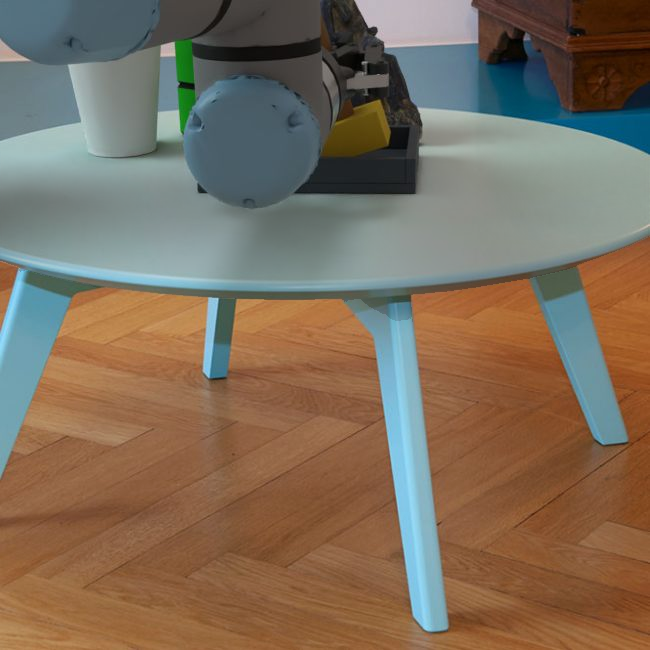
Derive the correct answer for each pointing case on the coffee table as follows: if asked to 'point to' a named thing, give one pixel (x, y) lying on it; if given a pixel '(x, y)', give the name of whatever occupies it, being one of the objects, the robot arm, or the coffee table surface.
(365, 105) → the sponge brush
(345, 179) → the tray
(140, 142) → the foam cup
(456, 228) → the coffee table surface
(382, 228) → the coffee table surface
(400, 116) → the statue
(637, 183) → the coffee table surface
